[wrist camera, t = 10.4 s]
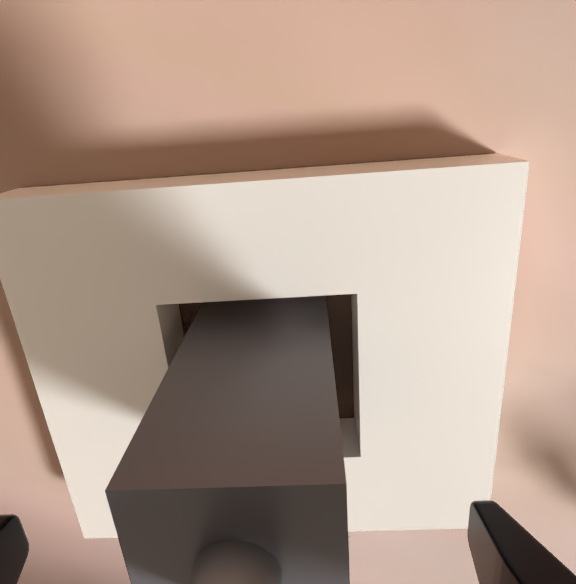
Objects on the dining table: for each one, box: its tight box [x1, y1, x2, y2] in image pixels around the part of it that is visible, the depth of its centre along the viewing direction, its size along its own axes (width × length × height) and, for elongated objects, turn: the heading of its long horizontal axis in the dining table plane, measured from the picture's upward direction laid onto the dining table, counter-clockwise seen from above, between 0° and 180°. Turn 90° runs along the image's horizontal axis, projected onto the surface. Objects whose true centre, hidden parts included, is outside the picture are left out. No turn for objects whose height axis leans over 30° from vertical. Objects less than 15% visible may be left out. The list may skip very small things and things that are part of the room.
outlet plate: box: [0, 153, 530, 538], centre depth 15 cm, size 14×12×2 cm
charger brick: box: [105, 295, 350, 584], centre depth 11 cm, size 4×4×10 cm
